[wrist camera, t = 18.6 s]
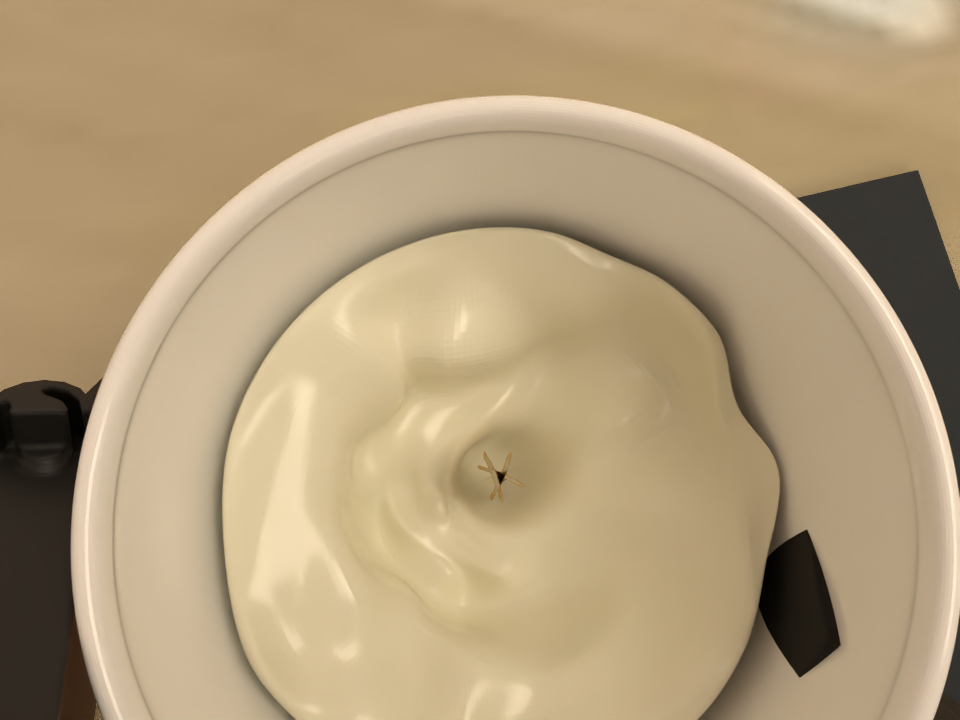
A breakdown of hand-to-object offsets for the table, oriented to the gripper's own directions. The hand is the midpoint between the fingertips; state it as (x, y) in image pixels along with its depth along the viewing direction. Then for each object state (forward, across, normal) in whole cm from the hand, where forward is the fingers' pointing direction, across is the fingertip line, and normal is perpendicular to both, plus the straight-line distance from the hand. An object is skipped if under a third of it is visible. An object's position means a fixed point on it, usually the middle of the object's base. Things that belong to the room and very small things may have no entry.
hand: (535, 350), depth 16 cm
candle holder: (+1, 0, -6) cm, 6 cm away
